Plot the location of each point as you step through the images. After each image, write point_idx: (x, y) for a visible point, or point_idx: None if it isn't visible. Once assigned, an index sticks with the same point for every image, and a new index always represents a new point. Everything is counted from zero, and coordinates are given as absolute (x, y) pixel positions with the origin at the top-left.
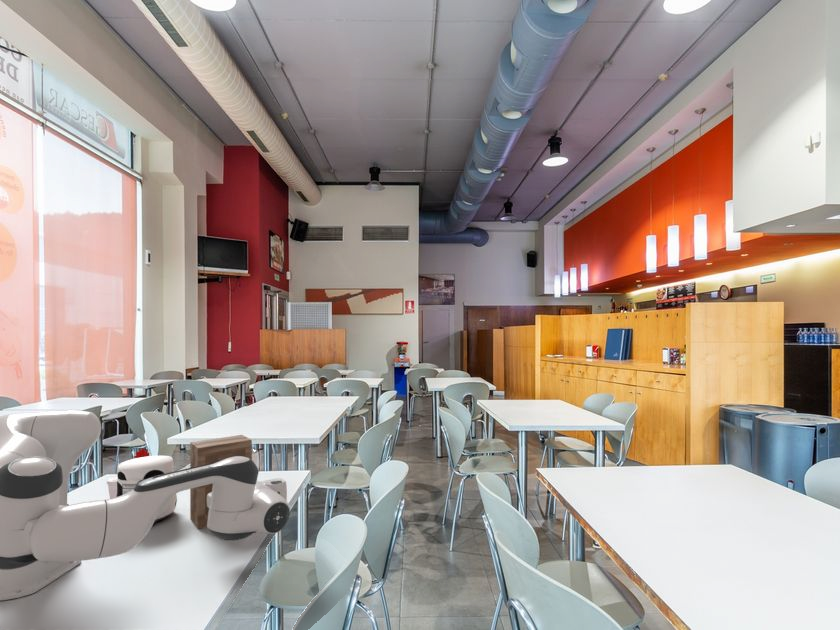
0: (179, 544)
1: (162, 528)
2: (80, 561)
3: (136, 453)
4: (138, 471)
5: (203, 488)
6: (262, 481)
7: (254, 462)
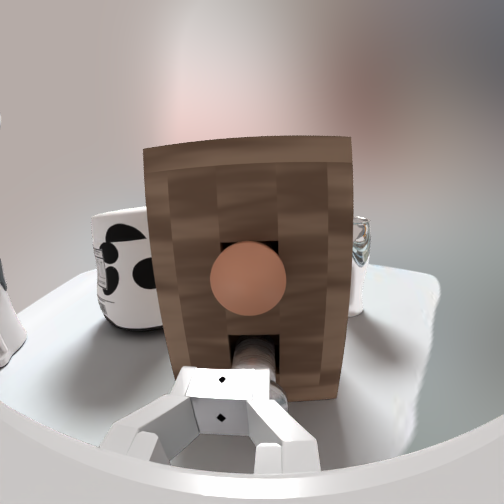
0: (99, 435)
1: (139, 353)
2: (2, 364)
3: None
4: (98, 223)
5: (173, 297)
6: (449, 461)
7: (360, 243)
